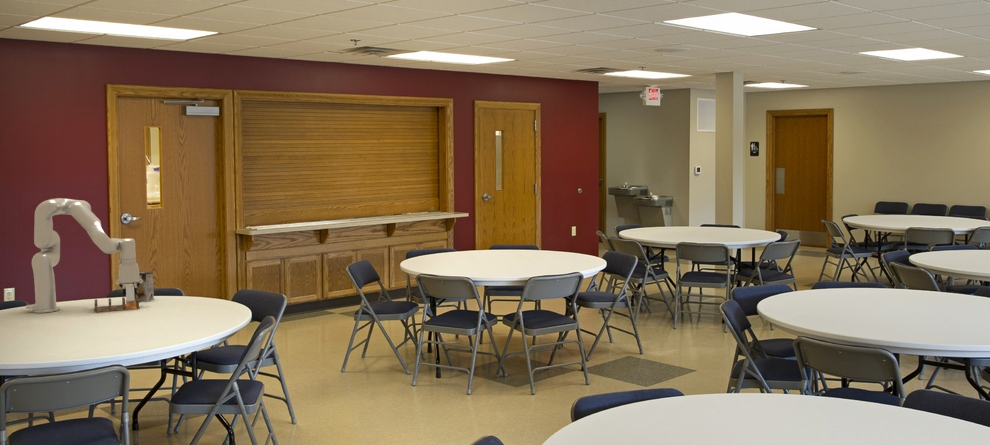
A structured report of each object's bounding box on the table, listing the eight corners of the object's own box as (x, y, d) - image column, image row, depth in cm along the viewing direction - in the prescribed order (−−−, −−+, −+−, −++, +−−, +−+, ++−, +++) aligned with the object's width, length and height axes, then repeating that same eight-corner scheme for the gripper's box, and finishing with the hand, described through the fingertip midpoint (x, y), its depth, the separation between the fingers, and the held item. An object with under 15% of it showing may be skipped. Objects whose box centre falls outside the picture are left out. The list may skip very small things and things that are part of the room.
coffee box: (133, 301, 468) (131, 272, 467) (141, 299, 474) (139, 271, 473) (146, 302, 466) (145, 273, 464) (154, 300, 472) (153, 271, 471)
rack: (94, 313, 434) (94, 303, 434) (95, 308, 448) (94, 299, 448) (139, 309, 443) (139, 300, 443) (138, 304, 457) (137, 296, 457)
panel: (126, 306, 443) (125, 287, 442) (126, 302, 452) (125, 284, 452) (134, 305, 444) (134, 286, 443) (134, 302, 454) (133, 284, 453)
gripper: (111, 263, 440) (113, 297, 441) (145, 261, 447) (147, 295, 448) (111, 261, 446) (112, 295, 448) (145, 259, 453) (146, 293, 455)
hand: (130, 295), depth 448 cm, fingers closed on panel, 4 cm apart
